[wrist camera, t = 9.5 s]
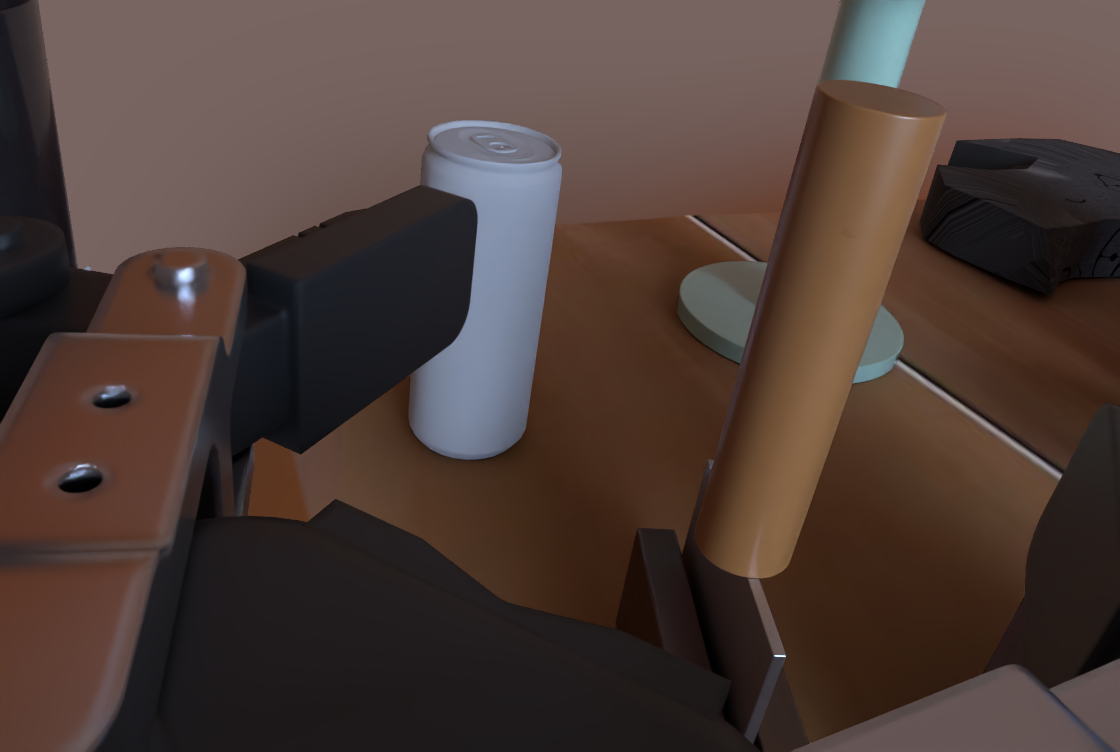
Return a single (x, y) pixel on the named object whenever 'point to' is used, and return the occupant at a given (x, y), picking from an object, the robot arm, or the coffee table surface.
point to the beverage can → (490, 286)
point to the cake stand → (733, 287)
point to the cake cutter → (801, 366)
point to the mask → (1028, 209)
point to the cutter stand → (689, 627)
